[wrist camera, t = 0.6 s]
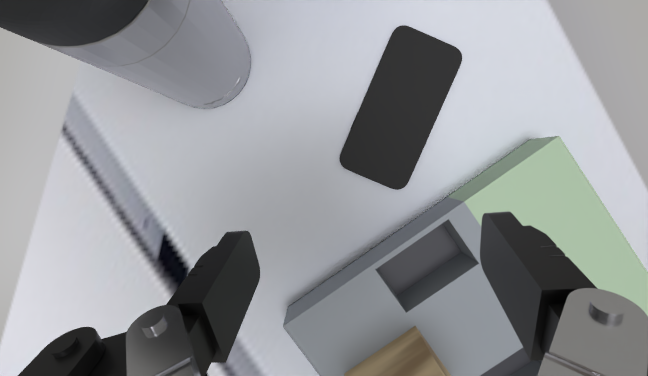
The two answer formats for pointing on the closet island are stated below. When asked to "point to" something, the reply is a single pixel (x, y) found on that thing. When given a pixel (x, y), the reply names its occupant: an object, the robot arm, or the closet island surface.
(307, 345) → the box
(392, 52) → the phone
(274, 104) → the closet island surface
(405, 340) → the maple block
